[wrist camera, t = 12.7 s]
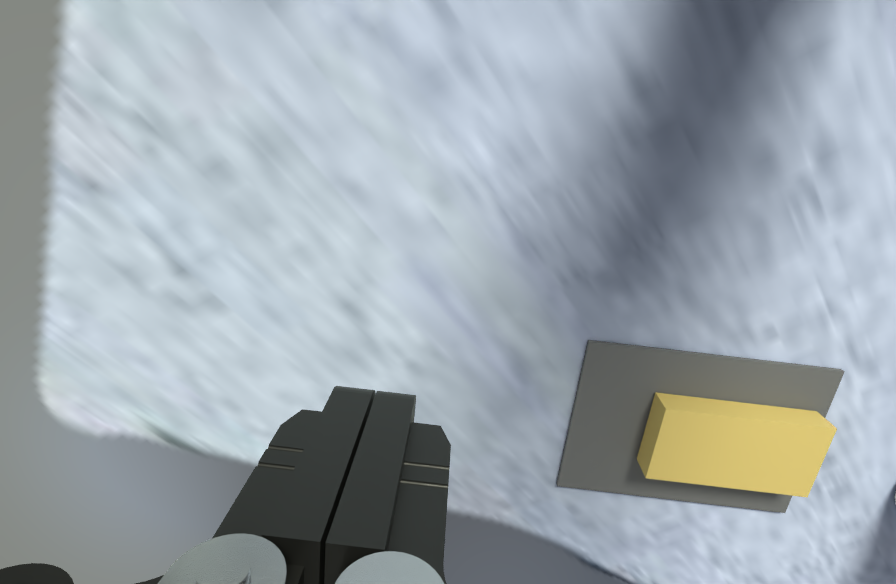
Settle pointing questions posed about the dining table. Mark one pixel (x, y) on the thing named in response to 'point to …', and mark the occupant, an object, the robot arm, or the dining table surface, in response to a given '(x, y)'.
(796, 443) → the box
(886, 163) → the dining table surface
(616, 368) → the mat
